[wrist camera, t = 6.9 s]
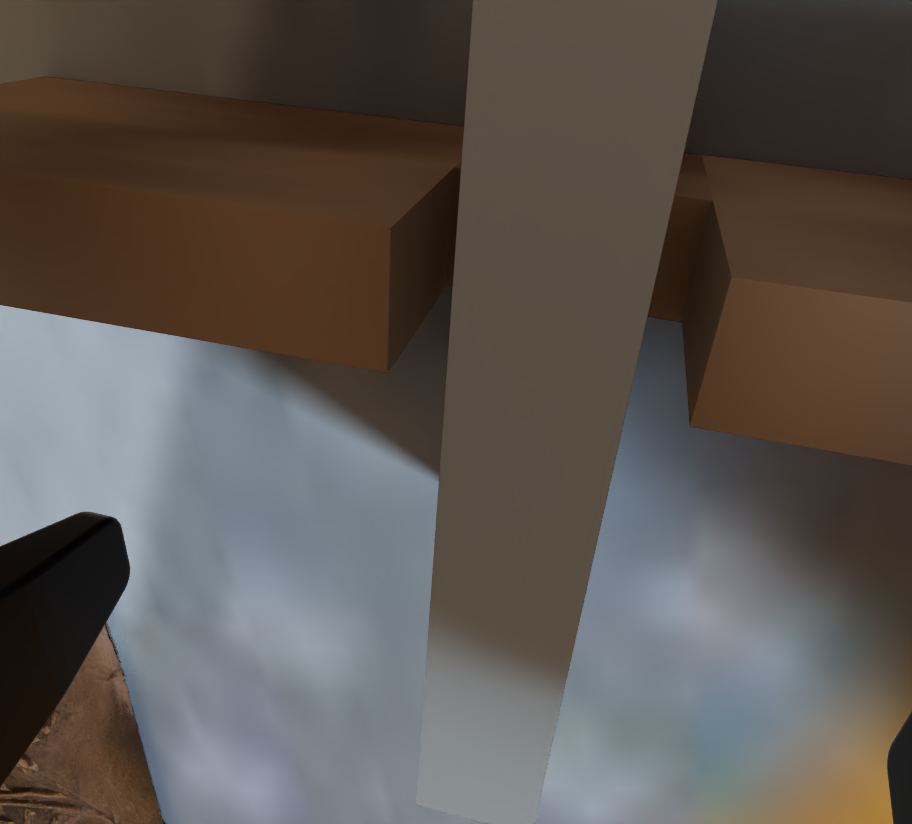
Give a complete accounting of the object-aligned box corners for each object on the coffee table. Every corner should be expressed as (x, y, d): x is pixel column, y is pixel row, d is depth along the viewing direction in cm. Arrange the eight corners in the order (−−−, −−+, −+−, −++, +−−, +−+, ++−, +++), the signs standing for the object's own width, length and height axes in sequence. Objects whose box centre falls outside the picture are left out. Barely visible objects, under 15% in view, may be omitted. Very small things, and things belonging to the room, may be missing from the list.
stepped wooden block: (1318, 228, 9) (1868, 439, 5) (1242, 336, 10) (1664, 597, 6) (43, 76, 12) (-282, 131, 8) (63, 170, 13) (-224, 265, 9)
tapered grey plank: (745, -318, 8) (898, -810, 3) (575, 531, 14) (531, 836, 9) (606, -320, 8) (527, -781, 3) (499, 516, 14) (416, 804, 9)
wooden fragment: (-97, 469, 18) (-134, 494, 18) (290, 680, 19) (273, 715, 18) (-133, 853, 32) (-154, 878, 32) (92, 965, 33) (77, 992, 32)
